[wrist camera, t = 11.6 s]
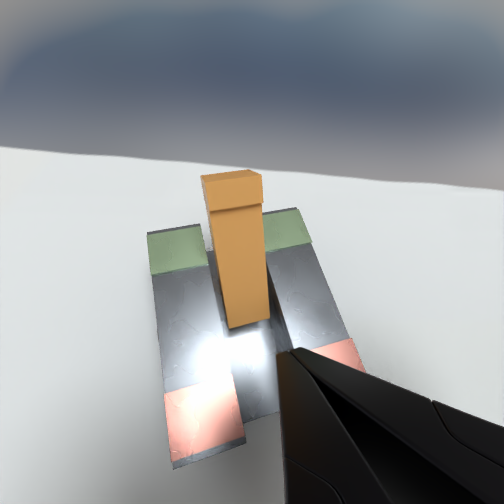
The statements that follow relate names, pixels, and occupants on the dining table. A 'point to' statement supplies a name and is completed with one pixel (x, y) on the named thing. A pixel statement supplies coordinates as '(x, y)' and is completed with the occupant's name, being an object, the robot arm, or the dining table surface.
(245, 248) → the breaker handle
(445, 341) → the dining table surface
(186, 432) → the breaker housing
